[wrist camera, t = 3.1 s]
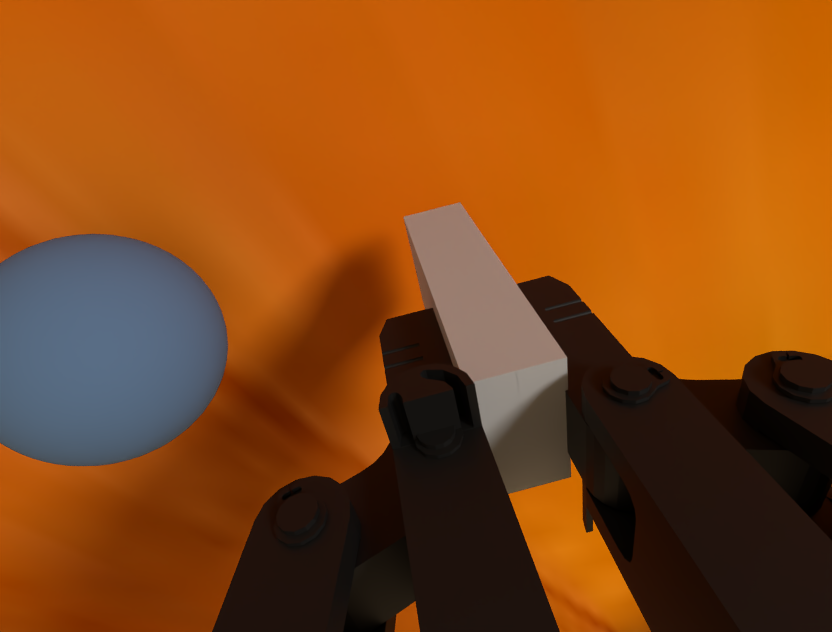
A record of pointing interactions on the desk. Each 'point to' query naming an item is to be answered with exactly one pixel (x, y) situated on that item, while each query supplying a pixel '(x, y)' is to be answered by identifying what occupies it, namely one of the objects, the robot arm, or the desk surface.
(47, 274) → the ball
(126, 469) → the desk surface
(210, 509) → the desk surface
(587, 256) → the desk surface
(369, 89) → the desk surface
